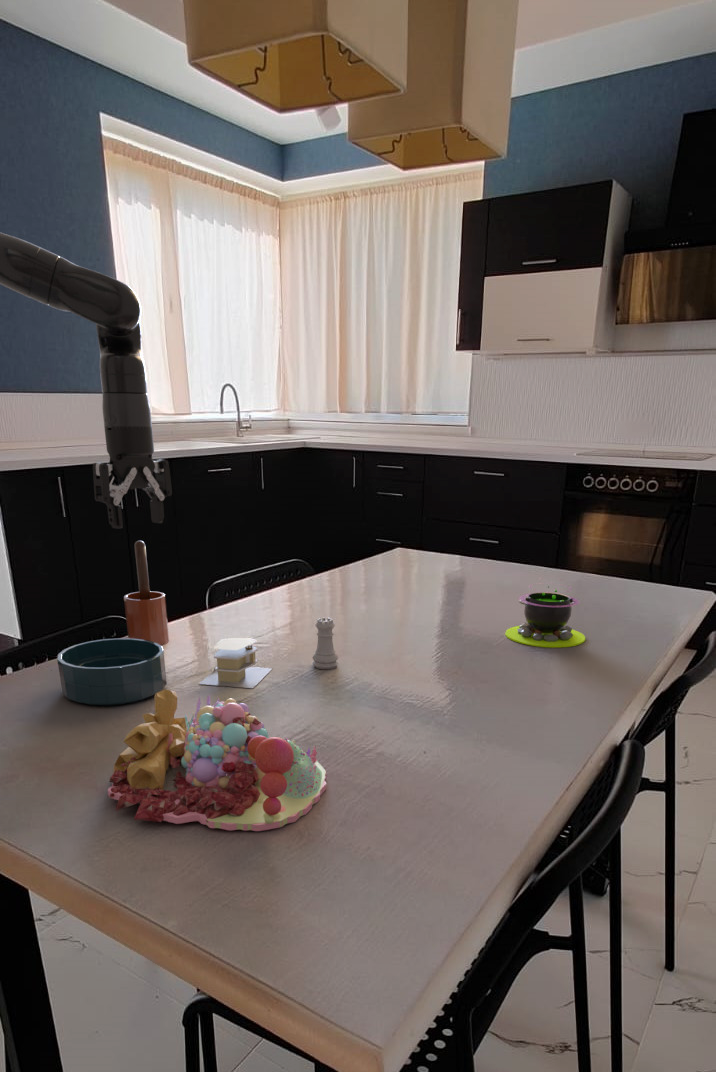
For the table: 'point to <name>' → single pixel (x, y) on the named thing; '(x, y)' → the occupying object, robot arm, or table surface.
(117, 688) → the bowl
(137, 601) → the crock
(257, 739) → the pastel sphere sculpture
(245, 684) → the stacked layers on plate
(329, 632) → the rook chess piece
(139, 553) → the stirring stick
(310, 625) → the table surface
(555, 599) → the toy cauldron
